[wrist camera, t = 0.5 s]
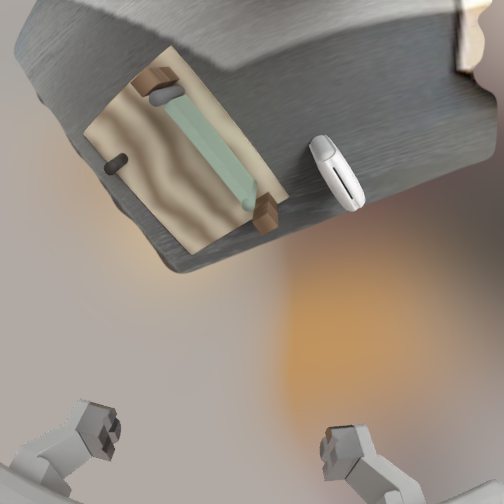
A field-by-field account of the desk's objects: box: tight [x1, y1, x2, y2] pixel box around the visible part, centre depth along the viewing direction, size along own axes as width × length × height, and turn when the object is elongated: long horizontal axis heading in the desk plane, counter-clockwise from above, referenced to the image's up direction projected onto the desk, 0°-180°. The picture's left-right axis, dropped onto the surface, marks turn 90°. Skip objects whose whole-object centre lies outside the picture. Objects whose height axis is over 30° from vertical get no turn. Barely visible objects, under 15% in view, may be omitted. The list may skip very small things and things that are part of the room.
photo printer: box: [309, 135, 365, 211], centre depth 45 cm, size 10×4×12 cm, turn 36°
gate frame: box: [83, 46, 289, 255], centre depth 47 cm, size 24×34×11 cm
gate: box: [149, 85, 258, 212], centre depth 44 cm, size 23×2×10 cm, turn 35°
